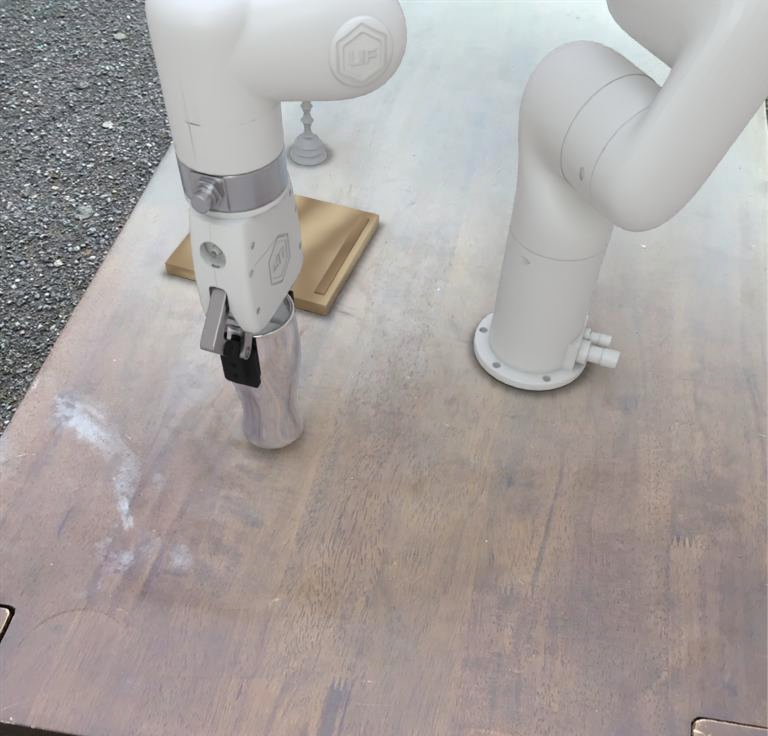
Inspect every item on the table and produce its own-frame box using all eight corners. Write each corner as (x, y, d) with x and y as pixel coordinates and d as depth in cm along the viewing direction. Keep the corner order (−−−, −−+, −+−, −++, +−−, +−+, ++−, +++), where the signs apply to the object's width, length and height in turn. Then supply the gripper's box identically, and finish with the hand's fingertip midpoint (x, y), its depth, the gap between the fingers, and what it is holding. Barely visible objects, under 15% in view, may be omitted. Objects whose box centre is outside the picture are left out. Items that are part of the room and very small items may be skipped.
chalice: (341, 164, 109) (340, 21, 95) (293, 174, 108) (284, 30, 93) (323, 136, 113) (319, -6, 98) (276, 144, 112) (265, 2, 97)
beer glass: (298, 458, 78) (284, 343, 66) (229, 446, 79) (202, 331, 67) (316, 405, 82) (306, 287, 70) (250, 394, 83) (228, 276, 71)
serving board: (379, 225, 102) (379, 212, 101) (326, 315, 92) (325, 303, 91) (233, 189, 105) (231, 176, 104) (167, 273, 95) (164, 261, 94)
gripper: (228, 255, 52) (260, 434, 67) (328, 115, 62) (336, 299, 76) (125, 230, 54) (178, 410, 68) (237, 97, 63) (263, 281, 78)
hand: (261, 350), depth 72 cm, fingers closed on beer glass, 7 cm apart
